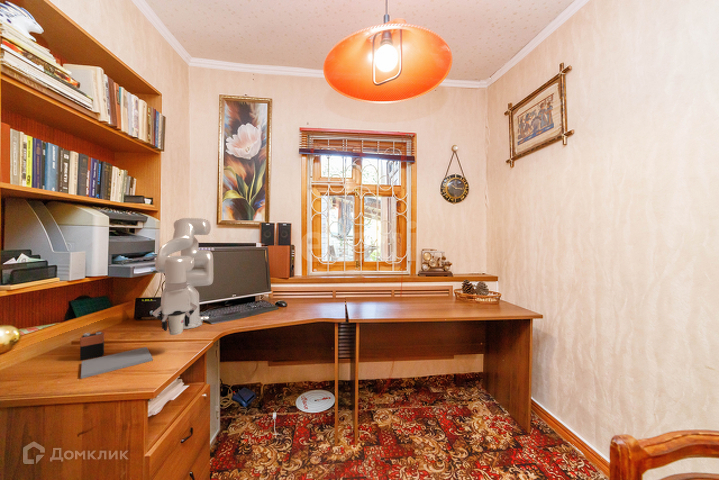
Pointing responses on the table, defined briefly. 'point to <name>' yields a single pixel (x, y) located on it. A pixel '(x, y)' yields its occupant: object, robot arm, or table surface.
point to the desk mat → (115, 362)
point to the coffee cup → (176, 322)
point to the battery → (91, 345)
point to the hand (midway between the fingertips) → (176, 327)
